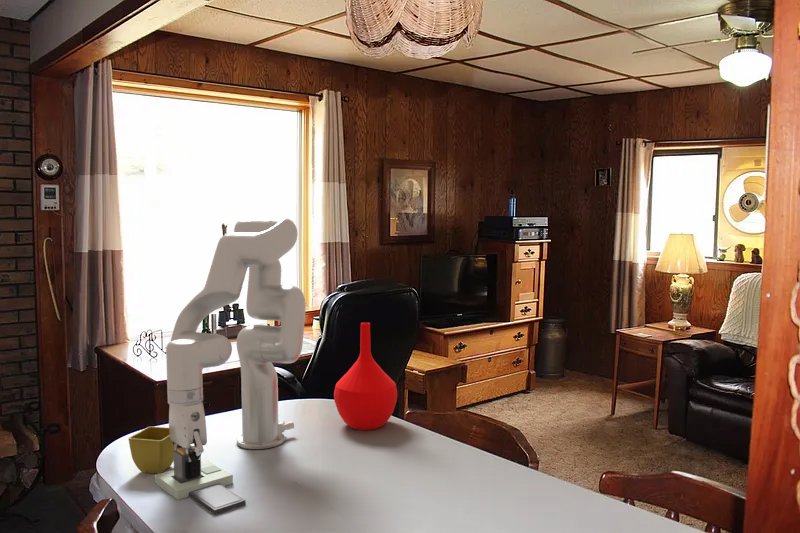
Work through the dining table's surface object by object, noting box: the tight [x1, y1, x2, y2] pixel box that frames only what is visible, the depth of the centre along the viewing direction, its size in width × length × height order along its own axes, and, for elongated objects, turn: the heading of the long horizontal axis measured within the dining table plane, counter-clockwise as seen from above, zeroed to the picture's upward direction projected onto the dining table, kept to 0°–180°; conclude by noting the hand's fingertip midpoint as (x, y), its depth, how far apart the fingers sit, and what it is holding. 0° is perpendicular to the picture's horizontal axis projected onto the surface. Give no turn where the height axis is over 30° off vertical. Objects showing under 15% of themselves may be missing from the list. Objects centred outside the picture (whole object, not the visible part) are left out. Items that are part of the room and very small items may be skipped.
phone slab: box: [189, 483, 247, 516], centre depth 141 cm, size 7×12×1 cm, turn 42°
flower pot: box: [128, 426, 174, 474], centre depth 158 cm, size 9×9×9 cm
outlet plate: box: [154, 460, 234, 501], centre depth 150 cm, size 13×12×2 cm
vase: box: [333, 322, 398, 431], centre depth 191 cm, size 18×18×30 cm
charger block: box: [173, 444, 202, 483], centre depth 149 cm, size 4×4×8 cm
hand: (187, 473), depth 149 cm, fingers open, 4 cm apart
